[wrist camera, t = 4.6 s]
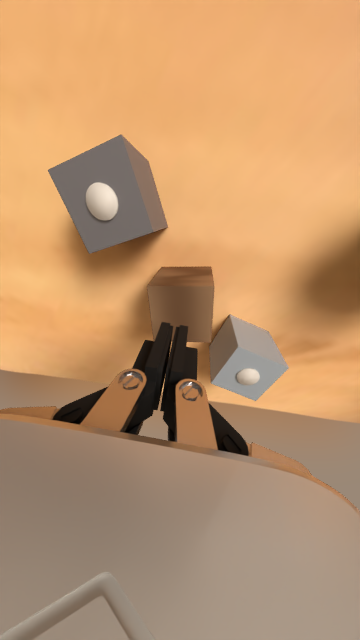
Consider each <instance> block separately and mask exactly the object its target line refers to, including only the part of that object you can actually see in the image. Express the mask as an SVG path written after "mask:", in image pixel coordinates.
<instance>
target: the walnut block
mask: <svg viewBox="0 0 360 640" xmlns="http://www.w3.org/2000/svg"><path fill="white" fill-rule="evenodd" d="M147 290H148V298H149V306H150V314H151V323H152V331H153V339H154V341H155V339H156V336H157V333H158V331H159V328H160V325H161V322H166V323H170V326H173V333H172V340H171V341H173V338H174V334H175V329H176V327H180V325H184V326H188V334H187V342H208V343H211V336H212V318H213V301H214V281H213V275H212V269H211V267H162V268H161V269H160V270H159V271H158V273H157V274H156V275H155V277H154V278H153V279H152V280H151V282H150V283H149V284H148V286H147Z"/></svg>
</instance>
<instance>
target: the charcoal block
mask: <svg viewBox="0 0 360 640" xmlns="http://www.w3.org/2000/svg"><path fill="white" fill-rule="evenodd" d="M48 172H49V174H50V176H51V178H52V180H53V182H54V184H55V186H56V188H57V190H58V192H59V194H60V196H61V198H62V200H63V202H64V204H65V206H66V208H67V210H68V212H69V214H70V216H71V218H72V220H73V222H74V224H75V226H76V228H77V230H78V232H79V234H80V236H81V238H82V240H83V242H84V244H85V246H86V248H87V250H88V252H89V254H90V253H93V252H96V251H99V250H102V249H105V248H108V247H111V246H114V245H117V244H120V243H123V242H126V241H129V240H132V239H135V238H138V237H140V236H143V235H146V234H149V233H152V232H155V231H158V230H161V229H164V228H167V227H168V225H167V222H166V219H165V215H164V212H163V209H162V205H161V202H160V198H159V195H158V192H157V188H156V185H155V182H154V178H153V175H152V172H151V168H150V165H149V161H148V160H147V159H146V158H145V157H144V156H143V155H141V154H140V153H139V152H138V151H137V150H136V149H135V148H134V147H133V146H132V145H131V144H130V143H129V142H128V141H127V140H126V139H125V138H124V137H123V136H122V135H119V136H117V137H115V138H113V139H111V140H109V141H107V142H105V143H103V144H100V145H98V146H96V147H94V148H92V149H90V150H88V151H86V152H84V153H82V154H80V155H78V156H76V157H74V158H72V159H70V160H67V161H65V162H63V163H61V164H59V165H57V166H55V167H53V168H51V169H49V170H48Z"/></svg>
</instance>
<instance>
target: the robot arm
mask: <svg viewBox="0 0 360 640" xmlns="http://www.w3.org/2000/svg"><path fill="white" fill-rule="evenodd" d="M172 333H173V326H170V323H166V322H161V325H160V328H159V331H158V333H157V336H156V339H155V341H149V340H145V341H144V343H143V346H142V348H141V350H140V352H139V355H138V357H137V359H136V361H135V364H134V366H133V368H132V369H127V370H123V371H122V372H120V373H119V374H118V375H117V376H116V377H115V379H114V380H113V381H112V383H111V384H110V385H109V386H108V387H106V388H104V389H102V390H99V391H97V392H95V393H92V394H90V395H88V396H86V397H83V398H81V399H79V400H76V401H74V402H72V403H69V404H68V405H65V406H64V407H62V408H61V409H57V408H56V406H51V407H23V408H7V409H2V410H0V640H360V511H359V510H358V509H357V508H356V507H355V506H354V505H353V504H352V503H351V502H350V501H349V500H348V499H346V497H344V496H343V495H342V494H340V493H339V492H337V491H336V490H335V489H333V488H332V487H330V486H329V485H327V484H325V483H324V482H322V481H320V480H318V479H316V478H315V477H313V476H312V475H311V473H310V472H309V470H308V469H307V468H305V467H304V466H303V465H302V464H301V463H299V462H297V461H296V460H293V459H291V458H288V457H286V456H284V455H281V454H279V453H276V452H274V451H272V450H270V449H267V448H265V447H262V446H260V445H257V444H255V443H253V442H252V443H251V444H249V443H247V442H245V440H244V439H243V438H242V436H241V435H240V434H239V433H238V432H237V431H236V430H235V429H234V428H233V427H232V426H231V425H230V424H229V423H228V422H227V421H226V420H225V419H224V418H223V417H222V416H221V415H220V414H219V413H218V412H217V411H216V410H215V409H214V408H213V407H212V406H211V405H210V404H209V403H208V399H207V394H206V390H205V388H204V386H203V385H202V384H201V383H200V382H198V381H197V349H195V348H189V347H186V343H187V334H188V326H184V325H180V327H176V329H175V334H174V338H173V342H172V347H171V351H170V346H171V340H172ZM169 353H170V356H169ZM165 374H166V375H165ZM164 378H165V382H164ZM163 383H164V389H163V397H162V403H161V410H160V411H164V415H163V419H164V421H165V422H166V424H167V425H168V441H166V440H161V439H156V438H150V437H145V436H140V435H138V434H139V432H140V429H141V427H142V425H143V421H144V420H146V419H147V418H149V417H150V416H152V414H153V410H157V409H158V405H159V401H160V396H161V392H162V387H163Z"/></svg>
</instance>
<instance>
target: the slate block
mask: <svg viewBox="0 0 360 640" xmlns="http://www.w3.org/2000/svg"><path fill="white" fill-rule="evenodd" d="M209 354H210V375H211V384H214V385H216V386H219V387H221V388H224V389H227V390H229V391H232V392H234V393H237V394H239V395H242V396H244V397H247V398H249V399H252V400H255V401H256V400H257V399H258V398H259V397H260V396H261V395H262V394H263V393H264V392H265V391H266V390H267V389H268V388H269V387H270V386H271V385H272V384H273V383H274V382H275V381H276V380H277V379H278V378H279V377H280V376H281V375H282V374H283V373H284V372H285V371H286V370H287V369H288V368H289V367H288V365H287V364H286V362H285V360H284V358H283V356H282V355H281V353H280V351H279V349H278V348H277V346H276V344H275V342H274V340H273V339H272V337H271V335H270V333H269V332H268V331H266V330H264V329H262V328H259V327H257V326H255V325H253V324H250V323H248V322H246V321H243V320H241V319H239V318H237V317H234V316H232V315H229V316H228V318H227V320H226V321H225V323H224V324H223V326H222V327H221V329H220V330H219V332H218V334H217V335H216V337H215V338H214V340H213V341H212V343H211V344H210V346H209Z"/></svg>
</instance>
